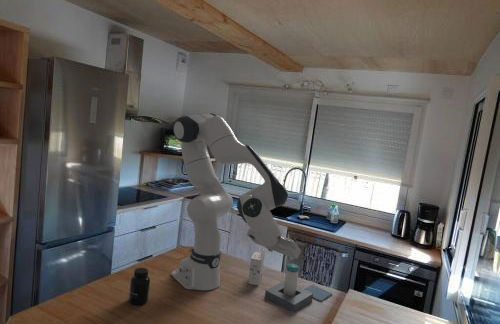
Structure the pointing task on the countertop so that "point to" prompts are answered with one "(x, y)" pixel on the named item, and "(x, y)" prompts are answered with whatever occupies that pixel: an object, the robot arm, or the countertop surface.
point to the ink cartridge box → (256, 268)
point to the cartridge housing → (290, 303)
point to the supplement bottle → (139, 287)
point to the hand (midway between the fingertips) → (281, 254)
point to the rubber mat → (318, 293)
